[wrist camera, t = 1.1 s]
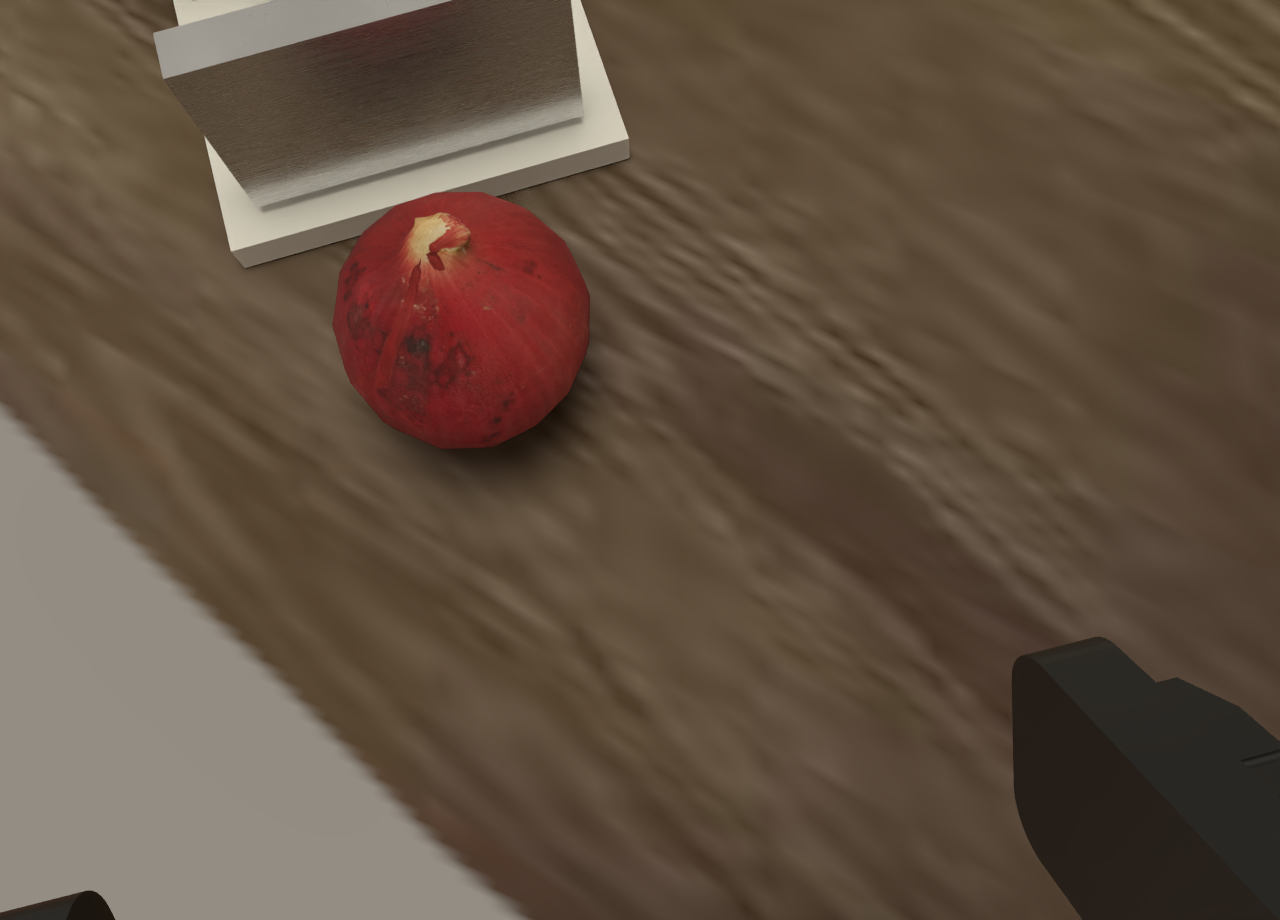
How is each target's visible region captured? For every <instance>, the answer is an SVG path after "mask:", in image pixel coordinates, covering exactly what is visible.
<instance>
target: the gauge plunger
mask: <svg viewBox="0 0 1280 920" xmlns="http://www.w3.org/2000/svg"><path fill="white" fill-rule="evenodd" d="M153 35H154V40H155V44H156V48H157V53H158V57H159V62H160V66H161V71H162V75H163V79H164V81H165V82H166V83H167V85H168V86H169V88H170V89H171V90H172V92H173V93H174V94H175V96H176V97H177V99H178V100H179V101H180V103H181V104H182V106H183V107H184V108H185V110H186V111H187V112H188V114H189V115H190V117H191V118H192V119H193V121H194V122H195V124H196V125H197V126H198V128H199V129H200V130H201V132H202V133H203V135H204V136H205V137H206V139H207V140H208V141H209V143H210V144H211V146H212V147H213V148H214V150H215V151H216V153H217V154H218V155H219V157H220V158H221V159H222V161H223V162H224V164H225V165H226V166H227V168H228V169H229V171H230V172H231V173H232V175H233V176H234V177H235V179H236V180H237V182H238V183H239V184H240V186H241V187H242V188H243V190H244V191H245V193H246V194H247V195H248V197H249V198H250V200H251V201H252V202H253V204H254V205H255V206H256V208H257V207H261V206H264V205H268V204H271V203H275V202H279V201H282V200H286V199H289V198H293V197H296V196H300V195H303V194H307V193H310V192H314V191H317V190H321V189H325V188H328V187H332V186H335V185H339V184H342V183H346V182H349V181H353V180H356V179H360V178H364V177H367V176H371V175H374V174H378V173H381V172H385V171H388V170H392V169H395V168H399V167H403V166H406V165H410V164H413V163H417V162H420V161H424V160H427V159H431V158H434V157H438V156H442V155H445V154H449V153H452V152H456V151H459V150H463V149H466V148H470V147H473V146H477V145H481V144H484V143H488V142H491V141H495V140H498V139H502V138H505V137H509V136H512V135H516V134H520V133H523V132H527V131H530V130H534V129H537V128H541V127H544V126H548V125H551V124H555V123H559V122H562V121H566V120H569V119H573V118H576V117H580V116H583V115H584V111H583V102H582V93H581V84H580V75H579V67H578V58H577V49H576V40H575V31H574V22H573V14H572V5H571V0H274V1H270V2H267V3H263V4H259V5H255V6H252V7H248V8H244V9H241V10H237V11H233V12H229V13H226V14H222V15H218V16H215V17H211V18H207V19H203V20H200V21H196V22H192V23H189V24H185V25H181V26H178V27H174V28H170V29H166V30H163V31H159V32H155V33H153Z"/></svg>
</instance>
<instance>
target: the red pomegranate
mask: <svg viewBox="0 0 1280 920" xmlns="http://www.w3.org/2000/svg"><path fill="white" fill-rule="evenodd" d="M589 315H590V295H589V292H588V289H587V287H586V284H585V282H584V279H583V277H582V275H581V273H580V271H579V269H578V267H577V264H576V262H575V260H574V258H573V256H572V254H571V252H570V250H569V248H568V247H567V245H566V243H565V241H564V240H563V239H562V238H560V237H559V236H558V235H557V234H556V233H555V232H553V231H552V230H551V229H550V228H549V227H548V226H547V225H545V224H544V223H543V222H542V221H541V220H540V219H538V218H537V217H536V216H535V215H534V214H533V213H531V212H530V211H528V210H527V209H525V208H523V207H521V206H519V205H516V204H513V203H511V202H508V201H505V200H503V199H500V198H497V197H495V196H492V195H489V194H487V193H484V192H435V193H432V194H429V195H426V196H423V197H420V198H417V199H414V200H411V201H408V202H404V203H401V204H398V205H395V206H394V207H393V208H392V209H390V210H389V211H388V212H387V213H385V214H384V215H383V216H382V217H381V218H379V219H378V220H377V221H376V222H374V223H373V224H372V225H371V226H370V227H368V228H367V229H366V230H365V231H364V232H363V233H362V234H361V236H360V237H359V239H358V241H357V243H356V244H355V246H354V248H353V250H352V251H351V253H350V255H349V257H348V258H347V260H346V262H345V264H344V265H343V267H342V269H341V271H340V273H339V281H338V289H337V297H336V305H335V312H334V318H333V324H332V326H333V329H334V333H335V336H336V340H337V343H338V347H339V350H340V354H341V357H342V361H343V364H344V368H345V370H346V373H347V375H348V378H349V380H350V382H351V384H352V385H353V386H354V388H355V389H356V390H357V391H358V392H359V393H360V395H361V396H362V397H363V398H364V399H365V401H366V402H367V403H368V404H369V405H370V407H371V408H372V409H373V410H374V411H375V412H376V414H377V415H378V416H379V417H380V418H381V420H382V421H383V422H384V423H386V424H388V425H389V426H391V427H393V428H394V429H396V430H398V431H401V432H403V433H405V434H408V435H410V436H412V437H415V438H417V439H419V440H422V441H424V442H426V443H429V444H431V445H433V446H436V447H438V448H440V449H456V448H485V447H494V446H496V445H498V444H500V443H502V442H504V441H506V440H508V439H510V438H512V437H514V436H516V435H518V434H520V433H522V432H524V431H526V430H528V429H530V428H532V427H534V426H536V425H537V424H538V423H539V422H540V421H541V420H542V419H543V418H544V417H545V416H546V415H547V414H548V413H549V412H550V411H551V410H552V409H553V408H554V407H555V406H556V405H557V404H558V403H559V402H560V401H561V400H562V399H563V398H564V397H565V396H566V395H567V394H568V393H569V391H570V388H571V386H572V384H573V382H574V379H575V377H576V375H577V373H578V370H579V368H580V366H581V364H582V362H583V359H584V357H585V355H586V352H587V348H588V344H589Z"/></svg>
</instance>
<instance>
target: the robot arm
mask: <svg viewBox="0 0 1280 920" xmlns="http://www.w3.org/2000/svg"><path fill="white" fill-rule="evenodd" d="M1012 715H1013V765H1014V793H1015V800H1016V804H1017V809H1018V813H1019V816H1020V819H1021V822H1022V825H1023V828H1024V830H1025V833H1026V835H1027V838H1028V840H1029V842H1030V844H1031V846H1032V848H1033V850H1034V851H1035V853H1036V855H1037V857H1038V858H1039V860H1040V861H1041V863H1042V864H1043V865H1044V867H1045V868H1046V870H1047V871H1048V872H1049V874H1050V875H1051V877H1052V878H1053V879H1054V881H1055V882H1056V883H1057V885H1058V886H1059V888H1060V889H1061V890H1062V892H1063V893H1064V895H1065V896H1066V897H1067V899H1068V900H1069V901H1070V903H1071V904H1072V906H1073V907H1074V908H1075V910H1076V911H1077V913H1078V914H1079V915H1080V917H1081V918H1082V919H1083V920H1280V742H1279V741H1278V740H1277V739H1276V738H1275V737H1274V736H1273V735H1271V734H1270V733H1269V732H1268V731H1267V730H1266V729H1264V728H1263V727H1262V726H1261V725H1260V724H1259V723H1257V722H1256V721H1255V720H1254V719H1253V718H1252V717H1250V716H1249V715H1248V714H1247V713H1246V712H1245V711H1243V710H1242V709H1241V708H1240V707H1239V706H1237V705H1235V704H1232V703H1230V702H1228V701H1226V700H1224V699H1222V698H1220V697H1217V696H1215V695H1213V694H1211V693H1209V692H1207V691H1205V690H1203V689H1200V688H1198V687H1196V686H1194V685H1192V684H1190V683H1188V682H1185V681H1183V680H1181V679H1179V678H1173V679H1169V680H1165V681H1162V682H1158V683H1156V682H1155V681H1154V680H1153V679H1152V678H1151V677H1150V676H1148V675H1147V674H1146V673H1145V672H1144V671H1143V670H1142V669H1141V668H1140V667H1139V666H1138V665H1137V664H1135V663H1134V662H1133V661H1132V660H1131V659H1130V658H1129V657H1128V656H1127V655H1126V654H1125V653H1124V652H1123V651H1121V650H1120V649H1119V648H1118V647H1117V646H1116V645H1115V644H1113V643H1112V642H1111V641H1109V640H1107V639H1106V638H1102V637H1094V638H1090V639H1086V640H1082V641H1078V642H1074V643H1070V644H1066V645H1062V646H1058V647H1054V648H1050V649H1046V650H1042V651H1039V652H1035V653H1031V654H1027V655H1023V656H1020V657H1018V658H1017V660H1016V661H1015V663H1014V666H1013V670H1012ZM0 920H115V918H114V916H113V914H112V912H111V910H110V908H109V906H108V905H107V903H106V901H105V900H104V899H103V898H102V896H100V895H99V894H98V893H96V892H94V891H84V892H80V893H76V894H72V895H69V896H64V897H60V898H56V899H52V900H48V901H44V902H41V903H37V904H33V905H29V906H25V907H21V908H17V909H13V910H9V911H5V912H1V913H0Z"/></svg>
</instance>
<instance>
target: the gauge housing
mask: <svg viewBox="0 0 1280 920" xmlns="http://www.w3.org/2000/svg"><path fill="white" fill-rule="evenodd" d="M270 1H274V0H173V2H174V6H175V11H176V15H177V19H178V24H179V26H181V25H185V24H189V23H192V22H196V21H200V20H203V19H207V18H211V17H215V16H218V15H222V14H226V13H229V12H233V11H237V10H241V9H244V8H248V7H252V6H255V5H259V4H263V3H267V2H270ZM571 5H572V14H573V22H574V31H575V40H576V49H577V58H578V67H579V75H580V84H581V93H582V102H583V111H584V115H583V116H580V117H576V118H573V119H569V120H566V121H562V122H559V123H555V124H551V125H548V126H544V127H541V128H537V129H534V130H530V131H527V132H523V133H520V134H516V135H512V136H509V137H505V138H502V139H498V140H495V141H491V142H488V143H484V144H481V145H477V146H473V147H470V148H466V149H463V150H459V151H456V152H452V153H449V154H445V155H442V156H438V157H434V158H431V159H427V160H424V161H420V162H417V163H413V164H410V165H406V166H403V167H399V168H395V169H392V170H388V171H385V172H381V173H378V174H374V175H371V176H367V177H364V178H360V179H356V180H353V181H349V182H346V183H342V184H339V185H335V186H332V187H328V188H325V189H321V190H317V191H314V192H310V193H307V194H303V195H300V196H296V197H293V198H289V199H286V200H282V201H279V202H275V203H271V204H268V205H264V206H261V207H257V208H256V206H255V205H254V204H253V202H252V201H251V200H250V198H249V197H248V195H247V194H246V193H245V191H244V190H243V188H242V187H241V186H240V184H239V183H238V182H237V180H236V179H235V177H234V176H233V175H232V173H231V172H230V171H229V169H228V168H227V166H226V165H225V164H224V162H223V161H222V159H221V158H220V157H219V155H218V154H217V153H216V151H215V150H214V148H213V147H212V146H211V144H210V143H209V141H208V140H207V139H206V137H205V141H206V145H207V149H208V154H209V158H210V162H211V167H212V171H213V175H214V180H215V184H216V189H217V193H218V197H219V202H220V206H221V210H222V215H223V219H224V223H225V228H226V232H227V236H228V241H229V245H230V249H231V252H232V253H233V255H234V256H235V257H236V258H237V259H238V261H239V262H240V263H241V264H242V265H243V267H244V268H247V267H251V266H254V265H258V264H261V263H265V262H268V261H272V260H275V259H279V258H282V257H286V256H289V255H293V254H296V253H300V252H303V251H307V250H310V249H314V248H317V247H321V246H324V245H328V244H331V243H335V242H338V241H342V240H345V239H349V238H352V237H356V236H359V235H361V234H362V233H363V232H364V231H365V230H366V229H367V228H368V227H370V226H371V225H372V224H373V223H374V222H376V221H377V220H378V219H379V218H381V217H382V216H383V215H384V214H385V213H387V212H388V211H389V210H390V209H392V208H393V207H394V206H395V205H398V204H401V203H404V202H408V201H411V200H414V199H417V198H420V197H423V196H426V195H429V194H432V193H435V192H484V193H487V194H489V195H492V196H495V197H496V196H499V195H503V194H506V193H510V192H513V191H517V190H520V189H524V188H527V187H531V186H534V185H538V184H541V183H545V182H548V181H552V180H555V179H559V178H562V177H566V176H569V175H573V174H576V173H580V172H583V171H587V170H590V169H594V168H597V167H601V166H604V165H608V164H611V163H615V162H618V161H622V160H625V159H629V158H630V154H629V138H628V135H627V132H626V129H625V126H624V123H623V121H622V118H621V115H620V112H619V109H618V106H617V103H616V101H615V98H614V95H613V92H612V89H611V86H610V84H609V81H608V78H607V75H606V72H605V69H604V66H603V64H602V61H601V58H600V55H599V52H598V49H597V46H596V44H595V41H594V38H593V35H592V32H591V29H590V26H589V24H588V21H587V18H586V15H585V12H584V9H583V7H582V4H581V1H580V0H571Z"/></svg>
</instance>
